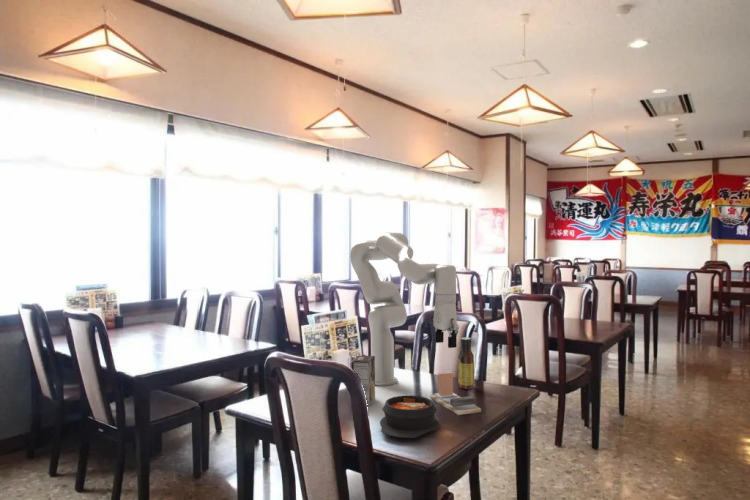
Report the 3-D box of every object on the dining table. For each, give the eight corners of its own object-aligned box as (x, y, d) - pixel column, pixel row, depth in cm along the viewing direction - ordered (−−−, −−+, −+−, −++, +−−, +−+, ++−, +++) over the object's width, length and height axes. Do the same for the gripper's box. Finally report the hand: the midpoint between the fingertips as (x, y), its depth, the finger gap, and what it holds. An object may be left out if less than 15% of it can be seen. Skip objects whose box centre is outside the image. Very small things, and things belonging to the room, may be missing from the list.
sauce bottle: (462, 384, 208) (462, 335, 208) (476, 386, 205) (476, 337, 204) (455, 388, 203) (455, 338, 203) (469, 390, 199) (469, 340, 199)
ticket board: (430, 398, 190) (430, 387, 190) (451, 395, 193) (451, 385, 193) (458, 415, 172) (458, 403, 171) (481, 411, 175) (481, 400, 175)
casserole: (393, 412, 175) (393, 388, 174) (447, 419, 168) (447, 393, 168) (367, 439, 151) (367, 411, 151) (428, 448, 145) (428, 418, 144)
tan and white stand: (434, 395, 190) (434, 372, 189) (450, 393, 192) (450, 370, 192) (440, 399, 185) (440, 375, 185) (457, 397, 187) (457, 373, 187)
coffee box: (358, 397, 191) (358, 354, 191) (375, 398, 190) (375, 355, 190) (352, 405, 182) (352, 360, 182) (370, 406, 181) (370, 361, 181)
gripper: (426, 296, 194) (426, 341, 195) (448, 301, 178) (448, 350, 179) (443, 295, 197) (443, 340, 197) (466, 300, 181) (466, 348, 181)
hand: (445, 344), depth 188 cm, fingers open, 9 cm apart
